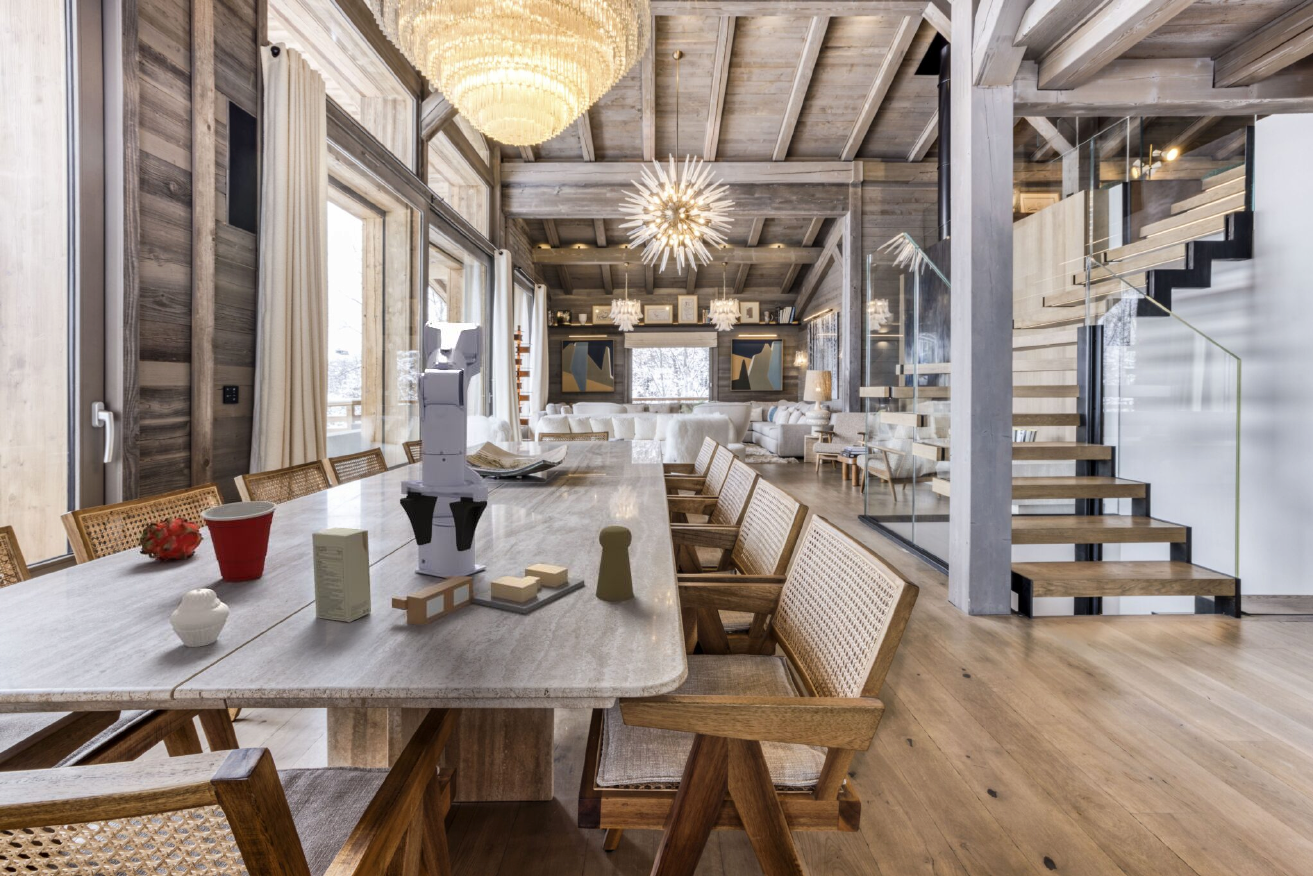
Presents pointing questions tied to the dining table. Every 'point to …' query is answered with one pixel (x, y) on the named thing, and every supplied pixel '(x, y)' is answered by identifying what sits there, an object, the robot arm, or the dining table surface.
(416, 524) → the robot arm
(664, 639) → the dining table surface
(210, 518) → the plastic cup
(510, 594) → the gray tray with blocks
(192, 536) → the dragon fruit
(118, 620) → the dining table surface
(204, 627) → the muffin
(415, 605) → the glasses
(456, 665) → the dining table surface
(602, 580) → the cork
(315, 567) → the skincare box
